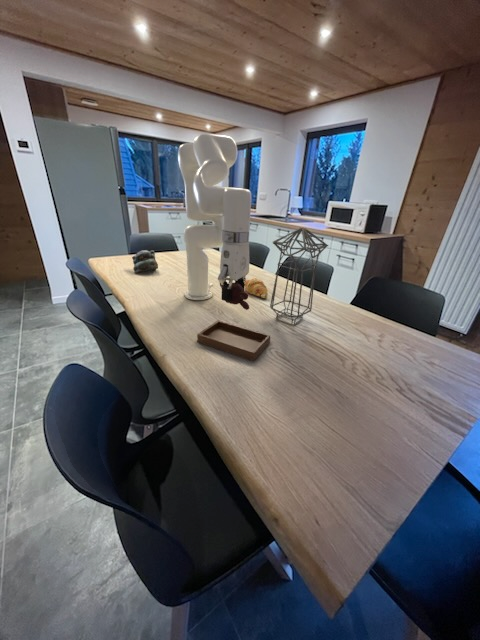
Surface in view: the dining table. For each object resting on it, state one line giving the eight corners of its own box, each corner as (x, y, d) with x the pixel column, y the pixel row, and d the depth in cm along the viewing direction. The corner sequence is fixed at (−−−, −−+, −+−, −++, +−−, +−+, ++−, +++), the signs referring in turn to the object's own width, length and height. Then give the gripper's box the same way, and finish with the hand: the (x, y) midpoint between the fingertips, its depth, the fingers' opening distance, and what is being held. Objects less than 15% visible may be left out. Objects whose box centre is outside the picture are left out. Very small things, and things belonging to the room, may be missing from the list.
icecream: (208, 279, 82) (236, 298, 72) (228, 270, 85) (257, 287, 75) (212, 297, 87) (238, 318, 77) (230, 288, 90) (258, 307, 80)
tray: (217, 326, 97) (218, 320, 96) (269, 342, 88) (270, 335, 87) (197, 341, 87) (197, 334, 86) (253, 361, 78) (254, 353, 77)
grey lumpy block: (129, 273, 150) (124, 249, 150) (140, 276, 162) (135, 254, 162) (154, 267, 148) (148, 243, 148) (163, 270, 160) (158, 248, 160)
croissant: (270, 305, 127) (278, 291, 125) (254, 298, 121) (263, 283, 119) (249, 290, 143) (256, 277, 142) (235, 283, 137) (242, 270, 136)
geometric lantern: (262, 318, 105) (270, 226, 90) (284, 308, 116) (295, 224, 101) (295, 332, 96) (312, 232, 81) (316, 319, 107) (334, 229, 91)
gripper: (231, 243, 65) (229, 308, 73) (260, 235, 79) (256, 291, 87) (206, 239, 68) (206, 302, 76) (238, 232, 82) (236, 287, 90)
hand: (233, 296), depth 81 cm, fingers closed on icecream, 7 cm apart
